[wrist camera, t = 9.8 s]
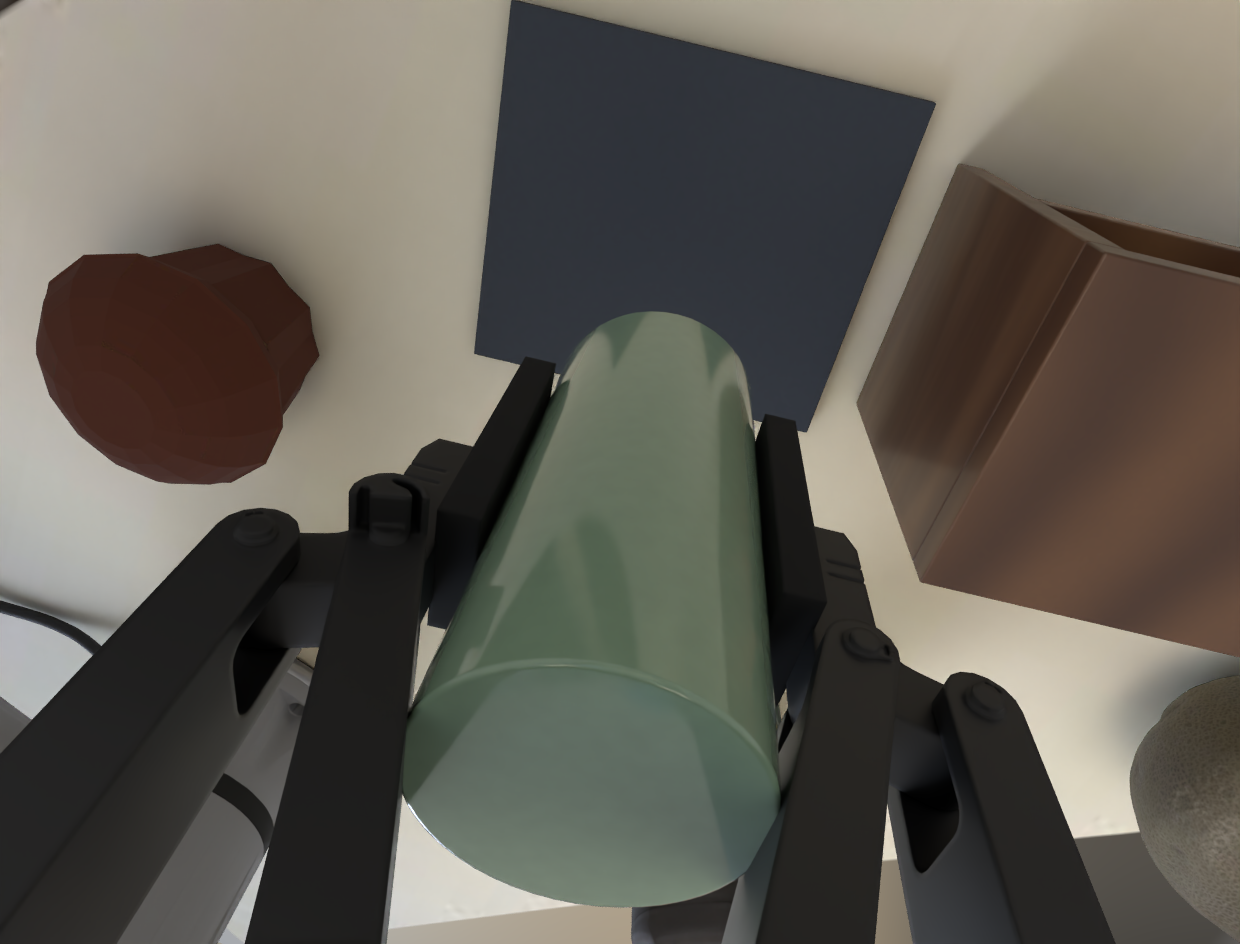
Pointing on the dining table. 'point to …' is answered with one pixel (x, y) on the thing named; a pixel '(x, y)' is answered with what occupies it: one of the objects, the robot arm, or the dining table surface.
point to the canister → (613, 640)
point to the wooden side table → (1067, 414)
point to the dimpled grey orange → (1195, 799)
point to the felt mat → (685, 198)
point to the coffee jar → (686, 915)
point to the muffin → (176, 359)
